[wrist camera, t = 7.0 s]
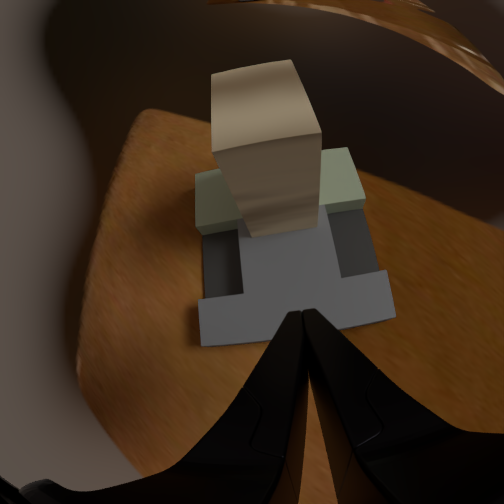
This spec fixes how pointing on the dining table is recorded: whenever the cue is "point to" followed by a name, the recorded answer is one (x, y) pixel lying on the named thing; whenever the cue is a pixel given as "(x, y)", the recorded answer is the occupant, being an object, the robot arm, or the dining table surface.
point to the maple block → (267, 146)
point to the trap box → (288, 262)
